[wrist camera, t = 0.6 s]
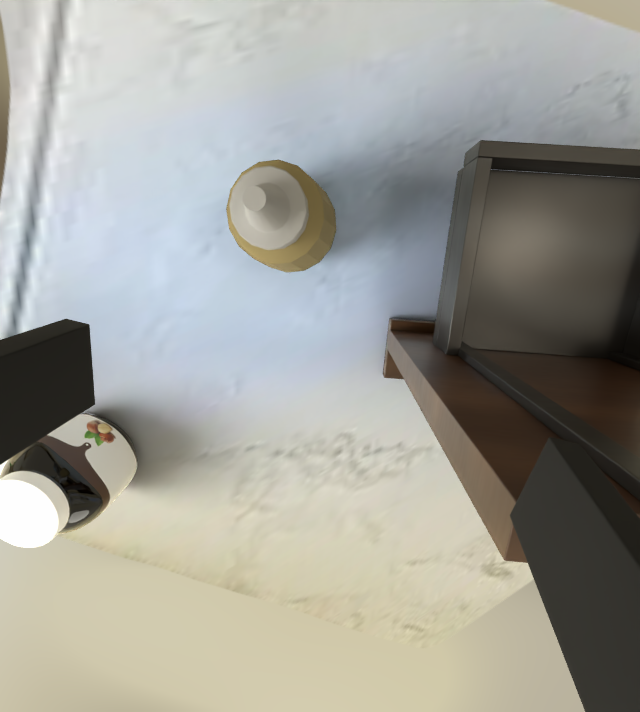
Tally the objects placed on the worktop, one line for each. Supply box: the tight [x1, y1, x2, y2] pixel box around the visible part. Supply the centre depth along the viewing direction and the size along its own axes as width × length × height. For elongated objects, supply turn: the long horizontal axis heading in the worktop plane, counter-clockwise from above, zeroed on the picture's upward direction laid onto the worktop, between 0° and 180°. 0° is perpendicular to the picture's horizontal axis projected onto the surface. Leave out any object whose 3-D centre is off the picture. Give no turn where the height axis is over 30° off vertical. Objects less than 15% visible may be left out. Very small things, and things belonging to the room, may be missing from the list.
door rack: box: [383, 140, 640, 563], centre depth 22 cm, size 20×22×29 cm
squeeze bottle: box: [226, 160, 337, 272], centre depth 27 cm, size 8×8×18 cm
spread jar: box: [0, 414, 137, 548], centre depth 37 cm, size 12×11×12 cm
